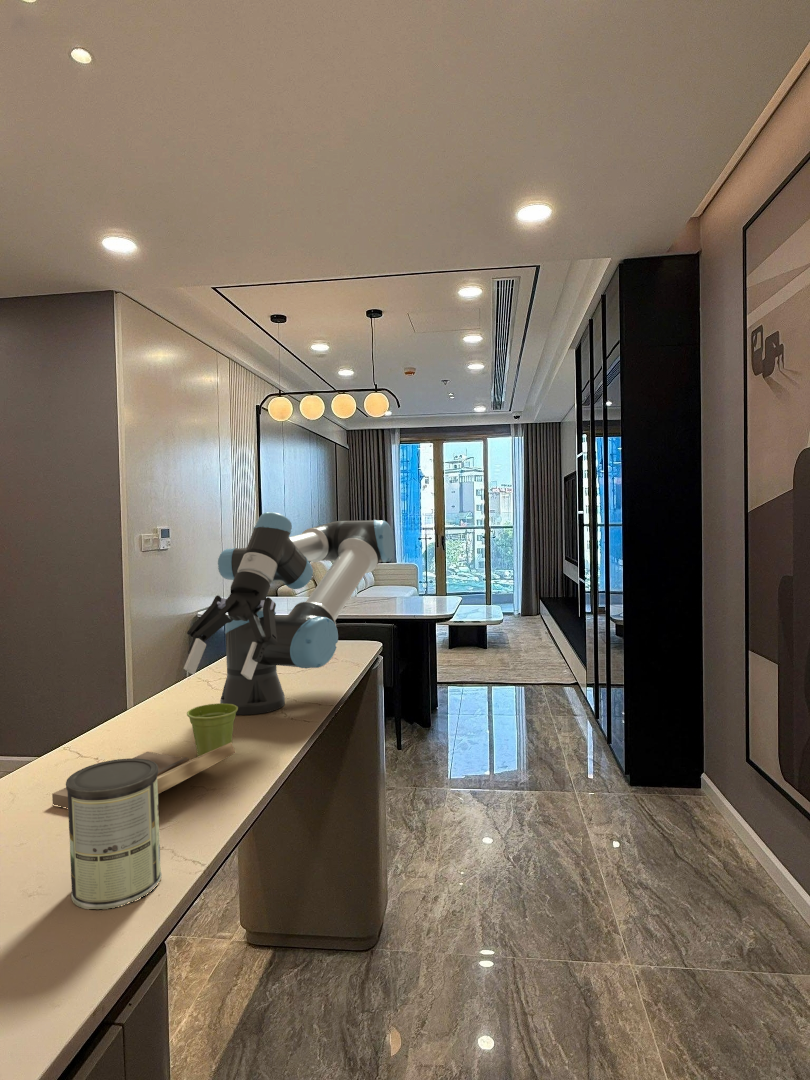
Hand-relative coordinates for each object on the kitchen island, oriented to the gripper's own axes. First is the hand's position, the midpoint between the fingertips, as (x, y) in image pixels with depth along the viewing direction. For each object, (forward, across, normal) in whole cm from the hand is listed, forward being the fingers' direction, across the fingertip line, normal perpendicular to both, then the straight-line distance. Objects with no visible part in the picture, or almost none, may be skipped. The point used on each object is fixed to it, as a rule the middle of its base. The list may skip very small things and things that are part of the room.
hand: (216, 674), depth 126 cm
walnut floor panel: (+23, -5, -6) cm, 24 cm away
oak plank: (+22, +6, -7) cm, 24 cm away
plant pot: (+13, 0, +8) cm, 16 cm away
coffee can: (+37, +19, -25) cm, 49 cm away
